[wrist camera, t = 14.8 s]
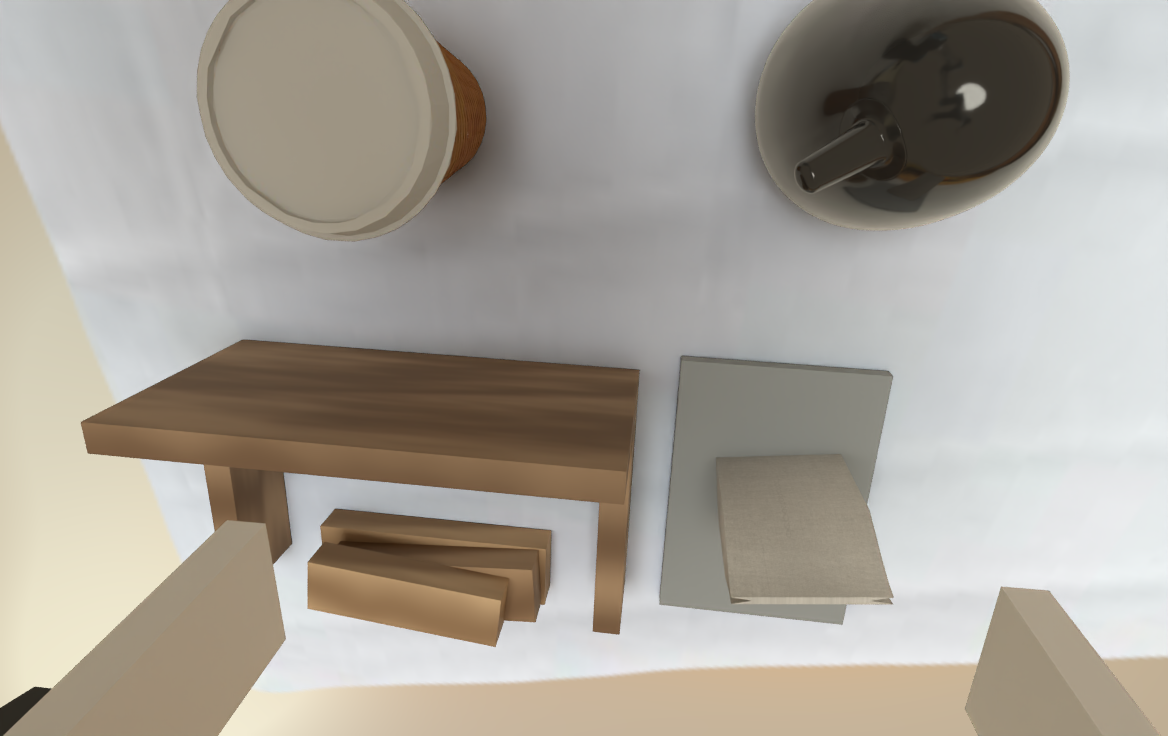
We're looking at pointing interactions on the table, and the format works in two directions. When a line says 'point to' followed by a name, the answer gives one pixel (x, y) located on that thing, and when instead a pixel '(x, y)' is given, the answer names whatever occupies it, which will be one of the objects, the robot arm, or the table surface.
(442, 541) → the offcut stack
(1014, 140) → the pump dispenser
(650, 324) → the table surface
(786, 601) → the tea bag
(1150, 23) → the table surface
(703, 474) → the mat
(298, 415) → the bench
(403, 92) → the disposable coffee cup
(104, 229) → the table surface
